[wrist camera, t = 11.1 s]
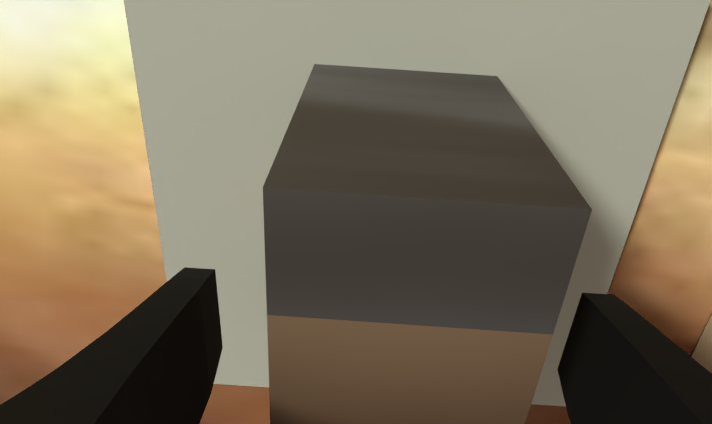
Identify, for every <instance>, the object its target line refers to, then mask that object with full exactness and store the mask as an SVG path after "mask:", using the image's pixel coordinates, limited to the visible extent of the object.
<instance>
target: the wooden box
mask: <svg viewBox="0 0 712 424" xmlns="http://www.w3.org/2000/svg"><path fill="white" fill-rule="evenodd" d="M691 357H692V358H693V359H694V360H696V361H697V362H698V363H699V364H701V365H702V366H703V367H704V368H706V369H707V370H708V371H709V372H711V373H712V315H711V317H710V319H709V321H708V323H707V325H706V327H705V329H704V331H703V333H702V335H701V338H700V340H699V342H698V344H697V346H696V348H695V350H694V352H693V354H692V356H691Z"/></svg>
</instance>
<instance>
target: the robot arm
mask: <svg viewBox="0 0 712 424" xmlns="http://www.w3.org/2000/svg"><path fill="white" fill-rule="evenodd" d="M222 348H223V346H222V335H221V325H220V314H219V304H218V293H217V283H216V273H215V269H202V268H187V267H184V268H183V269H182V270H181V271H179V272H178V273H177V274H176V275H175V276H173V277H172V278H171V279H170V280H169V281H167V282H166V283H165V284H164V285H163V286H161V287H160V288H159V289H158V290H157V291H155V292H154V293H153V294H152V295H151V296H150V297H148V298H147V299H146V300H145V301H144V302H142V303H141V304H140V305H139V306H138V307H136V308H135V309H134V310H133V311H132V312H130V313H129V314H128V315H127V316H125V317H124V318H123V319H122V320H120V321H119V322H118V323H117V324H116V325H114V326H113V327H112V328H111V329H109V330H108V331H107V332H106V333H104V334H103V335H102V336H100V337H99V338H98V339H96V340H95V341H94V342H92V343H91V344H90V345H88V346H87V347H85V348H84V349H83V350H81V351H80V352H79V353H77V354H76V355H75V356H73V357H72V358H71V359H69V360H68V361H67V362H65V363H64V364H63V365H61V366H60V367H58V368H57V369H55V370H54V371H53V372H51V373H50V374H48V375H47V376H45V377H44V378H42V379H41V380H39V381H38V382H36V383H35V384H33V385H32V386H30V387H28V388H27V389H25V390H24V391H22V392H20V393H19V394H17V395H16V396H14V397H12V398H11V399H9V400H8V401H6V402H4V403H3V404H1V405H0V424H199V423H200V420H201V418H202V415H203V413H204V410H205V407H206V405H207V402H208V400H209V397H210V394H211V391H212V387H213V383H214V380H215V376H216V372H217V368H218V364H219V360H220V356H221V352H222ZM557 370H558V374H559V379H560V383H561V387H562V392H563V396H564V400H565V404H566V408H567V412H568V416H569V419H570V422H571V424H712V373H711V372H709V371H708V370H707V369H706V368H704V367H703V366H702V365H701V364H699V363H698V362H697V361H696V360H694V359H693V358H692V357H691V356H689V355H688V354H687V353H686V352H684V351H683V350H682V349H681V348H679V347H678V346H677V345H676V344H675V343H673V342H672V341H671V340H670V339H669V338H667V337H666V336H665V335H664V334H662V333H661V332H660V331H659V330H658V329H656V328H655V327H654V326H653V325H652V324H650V323H649V322H648V321H647V320H645V319H644V318H643V317H642V316H641V315H639V314H638V313H637V312H636V311H634V310H633V309H632V308H631V307H629V306H628V305H627V304H625V303H624V302H623V301H621V300H620V299H619V298H617V297H616V296H615V295H611V294H595V293H582V294H581V297H580V300H579V304H578V307H577V310H576V313H575V316H574V319H573V322H572V325H571V328H570V332H569V335H568V338H567V341H566V344H565V347H564V350H563V353H562V356H561V360H560V363H559V366H558V369H557Z"/></svg>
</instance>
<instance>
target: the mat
mask: <svg viewBox="0 0 712 424" xmlns="http://www.w3.org/2000/svg"><path fill="white" fill-rule="evenodd" d="M710 1H711V0H124V5H125V11H126V18H127V24H128V31H129V37H130V44H131V50H132V57H133V63H134V70H135V76H136V83H137V90H138V96H139V103H140V109H141V116H142V122H143V129H144V135H145V142H146V148H147V155H148V162H149V168H150V175H151V181H152V188H153V194H154V201H155V207H156V214H157V220H158V227H159V233H160V240H161V247H162V253H163V260H164V266H165V273H166V279H167V281H169V280H170V279H171V278H172V277H173V276H175V275H176V274H177V273H178V272H179V271H181V270H182V269H183V268H184V267H187V268H202V269H215V273H216V283H217V293H218V304H219V314H220V325H221V335H222V346H223V348H222V352H221V356H220V360H219V364H218V368H217V372H216V376H215V380H214V383H213V384H226V385H241V386H257V387H269V365H268V334H267V303H266V272H265V241H264V211H263V186H264V183H265V181H266V178H267V176H268V174H269V171H270V169H271V166H272V164H273V162H274V159H275V157H276V155H277V152H278V150H279V147H280V145H281V143H282V140H283V138H284V135H285V133H286V131H287V128H288V126H289V124H290V121H291V119H292V116H293V114H294V112H295V109H296V107H297V104H298V102H299V100H300V97H301V95H302V93H303V90H304V88H305V85H306V83H307V81H308V78H309V76H310V73H311V71H312V69H313V66H314V64H323V65H338V66H353V67H368V68H383V69H398V70H413V71H428V72H443V73H459V74H474V75H489V76H497V77H498V78H499V79H500V81H501V82H502V84H503V85H504V86H505V88H506V89H507V91H508V92H509V93H510V95H511V96H512V98H513V99H514V100H515V102H516V103H517V105H518V106H519V107H520V109H521V110H522V112H523V113H524V115H525V116H526V117H527V119H528V120H529V122H530V123H531V124H532V126H533V127H534V129H535V130H536V131H537V133H538V134H539V136H540V137H541V138H542V140H543V141H544V143H545V144H546V145H547V147H548V148H549V150H550V151H551V152H552V154H553V155H554V157H555V158H556V160H557V161H558V162H559V164H560V165H561V167H562V168H563V169H564V171H565V172H566V174H567V175H568V176H569V178H570V179H571V181H572V182H573V183H574V185H575V186H576V188H577V189H578V190H579V192H580V193H581V195H582V196H583V197H584V199H585V200H586V202H587V203H588V205H589V206H590V207H591V209H592V212H591V215H590V218H589V221H588V224H587V227H586V231H585V234H584V237H583V240H582V243H581V247H580V250H579V253H578V256H577V259H576V263H575V266H574V269H573V272H572V275H571V279H570V282H569V285H568V288H567V291H566V295H565V298H564V301H563V304H562V307H561V311H560V314H559V317H558V320H557V323H556V327H555V330H554V333H553V336H552V339H551V343H550V346H549V349H548V352H547V355H546V359H545V362H544V365H543V368H542V371H541V375H540V378H539V381H538V384H537V387H536V390H535V394H534V397H533V400H532V403H531V404H535V405H550V406H566V404H565V400H564V396H563V392H562V387H561V383H560V379H559V374H558V370H557V369H558V366H559V363H560V360H561V356H562V353H563V350H564V347H565V344H566V341H567V338H568V335H569V332H570V328H571V325H572V322H573V319H574V316H575V313H576V310H577V307H578V304H579V300H580V297H581V294H582V293H595V294H607V293H608V290H609V287H610V285H611V282H612V279H613V276H614V273H615V270H616V267H617V265H618V262H619V259H620V256H621V253H622V250H623V248H624V245H625V242H626V239H627V236H628V233H629V231H630V228H631V225H632V222H633V219H634V216H635V214H636V211H637V208H638V205H639V202H640V199H641V197H642V194H643V191H644V188H645V185H646V182H647V179H648V177H649V174H650V171H651V168H652V165H653V162H654V160H655V157H656V154H657V151H658V148H659V145H660V143H661V140H662V137H663V134H664V131H665V128H666V126H667V123H668V120H669V117H670V114H671V111H672V109H673V106H674V103H675V100H676V97H677V94H678V91H679V89H680V86H681V83H682V80H683V77H684V74H685V72H686V69H687V66H688V63H689V60H690V57H691V55H692V52H693V49H694V46H695V43H696V40H697V38H698V35H699V32H700V29H701V26H702V23H703V21H704V18H705V15H706V12H707V9H708V6H709V3H710Z"/></svg>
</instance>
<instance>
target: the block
mask: <svg viewBox="0 0 712 424" xmlns="http://www.w3.org/2000/svg"><path fill="white" fill-rule="evenodd" d="M263 211H264V241H265V272H266V303H267V334H268V365H269V396H270V424H525V422H526V419H527V416H528V413H529V410H530V406H531V403H532V400H533V397H534V394H535V390H536V387H537V384H538V381H539V378H540V375H541V371H542V368H543V365H544V362H545V359H546V355H547V352H548V349H549V346H550V343H551V339H552V336H553V333H554V330H555V327H556V323H557V320H558V317H559V314H560V311H561V307H562V304H563V301H564V298H565V295H566V291H567V288H568V285H569V282H570V279H571V275H572V272H573V269H574V266H575V263H576V259H577V256H578V253H579V250H580V247H581V243H582V240H583V237H584V234H585V231H586V227H587V224H588V221H589V218H590V215H591V212H592V209H591V207H590V206H589V205H588V203H587V202H586V200H585V199H584V197H583V196H582V195H581V193H580V192H579V190H578V189H577V188H576V186H575V185H574V183H573V182H572V181H571V179H570V178H569V176H568V175H567V174H566V172H565V171H564V169H563V168H562V167H561V165H560V164H559V162H558V161H557V160H556V158H555V157H554V155H553V154H552V152H551V151H550V150H549V148H548V147H547V145H546V144H545V143H544V141H543V140H542V138H541V137H540V136H539V134H538V133H537V131H536V130H535V129H534V127H533V126H532V124H531V123H530V122H529V120H528V119H527V117H526V116H525V115H524V113H523V112H522V110H521V109H520V107H519V106H518V105H517V103H516V102H515V100H514V99H513V98H512V96H511V95H510V93H509V92H508V91H507V89H506V88H505V86H504V85H503V84H502V82H501V81H500V79H499V78H498V77H497V76H489V75H474V74H459V73H443V72H428V71H413V70H398V69H383V68H368V67H353V66H338V65H323V64H314V66H313V69H312V71H311V73H310V76H309V78H308V81H307V83H306V85H305V88H304V90H303V93H302V95H301V97H300V100H299V102H298V104H297V107H296V109H295V112H294V114H293V116H292V119H291V121H290V124H289V126H288V128H287V131H286V133H285V135H284V138H283V140H282V143H281V145H280V147H279V150H278V152H277V155H276V157H275V159H274V162H273V164H272V166H271V169H270V171H269V174H268V176H267V178H266V181H265V183H264V186H263Z"/></svg>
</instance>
